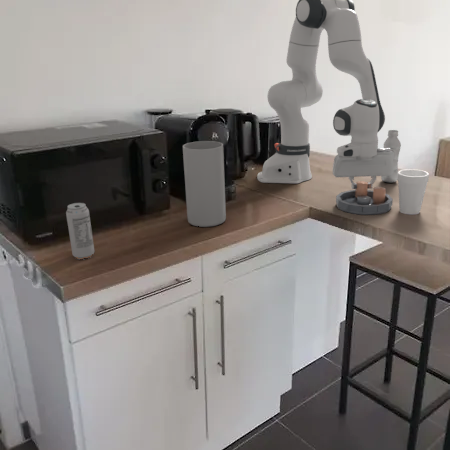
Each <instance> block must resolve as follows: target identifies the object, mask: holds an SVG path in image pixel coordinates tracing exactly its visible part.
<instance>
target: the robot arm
mask: <svg viewBox="0 0 450 450" xmlns="http://www.w3.org/2000/svg"><path fill="white" fill-rule="evenodd" d="M355 8H356V7H355V4H354V0H298V1H297V3H296V7H295V17H294V21H293V24H292V28H291V31H290V36H289V42H288V48H287V55H286V64H287V66H288V67H289V68H290V69H291V73H292V79H289V80H284V81H279V82H278V83H276V84H273V85H271V86H270V88H269V89H268V92H267V102H268V105H269V106H270V108H272V109H273V110H274V111H275V112H276V115H277V117H278V120H279V124H280V135H281V136H280V140H281V141H280V143H278V142H276V143H274V148H275V151H276V152H275V153H274V154H273V155H272V156H270V157H269V158H267V160H265V161H264V163H263V166H262V171H260V172H258V174H257V175H256V177H257V178H256V180H257V181H259V182H260V183H264V184H268V183H269V184H300V183H302V182H305V181H309V180H311V179H312V178H313V176H312V172H311V166H310V154H311V144H310V143H309V141H310V139H309V138H310V123H309V122H308V121H307V120H306V119H304V117H303V115H302V114H303V113H302V111H301V110H302V109H303V108H307V107H311V106H313V105H314V104H316V103H318V102H319V101H321V99H322V97H323V87H322V84H321V83H320V81H319V80H318V78H317V70H316V69H317V68H316V67H317V66H316V65H317V59H318V51H319V46H320V42H321V41H320V40H321V35H322V31H324V30H325V31H326V34H327V46H328V47H327V48H328V50H327V51H328V57H329V61H330V64H331V65H332V66H333V67H334V68H335V69H337V70H338V71H340V72H343V73H345V74H347V75H348V74H349V75H350V76H352V77H353V78H355V79H356V80H357V83H359V89H360V92H361V97H362V98H361V99H357V100H355V101H354V102H353V104H351V105H349V106H347V107H344V108H341V109H338V110H337V111H336V112H335V113H334V117H333V120H332V125H333V130H334V131H335V132H336V134H337V135H339V136H343V137H347V136H350V137H351V139H350V143H346V144H344V145H341V146H338V147H337V149H336V155H335V157H334V159H333V165H332V175H333V176H334V177H335V178H348V180H349V181H350V183H351V189H352V190H356V189H357V184H356V182H354V180H355V178H359V177H360V178H362V177H370V179H371V180H370V181H369V182H368V190H370V189H371V190H373V185H374V183H375V181H376V180H377V177H381V176H391V175H392V174H393V171H394V167H393V160H394V157H395V152H394V151H393V150H391V149H390V148H387V149H384V148H378V147H379V137H378V133H379V132H380V131H381V130H382V128H383V127H384V125H385V122H386V116H385V112H384V109H383V106H382V103H381V100H380V96H379V91H378V85H377V80H376V75H375V71H374V66H373V64H372V62H371V60H370V58H367V56H366V53H365V51H364V49H363V44H362V43H363V42H362V33H361V27H360V25H361V24H360V21H359V18H358V17H359V16H358V15H357V13H356V10H355ZM301 108H302V109H301Z"/></svg>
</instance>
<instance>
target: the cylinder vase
mask: <svg viewBox="0 0 450 450" xmlns="http://www.w3.org/2000/svg"><path fill="white" fill-rule="evenodd" d="M182 154H183V155H182V158H183V159H182V160H183V171H184V174H183V175H184V184H185V186H184V187H185V203H186V214H187V222H188V223H189V224H190V225H192V226H194V227H198V226H199V227H200V228H210V227H215V226H218V225H221V224H223V223H224V222H225V221H226V220H227V210H226V208H227V207H226V188H225V187H226V186H225V185H226V183H225V181H226V180H225V161H224V159H225V157H224V143H223V142H220V141H212V140H201V141H200V140H199V141H193V142H187V143H185V144H182Z"/></svg>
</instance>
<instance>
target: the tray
mask: <svg viewBox="0 0 450 450" xmlns="http://www.w3.org/2000/svg"><path fill="white" fill-rule="evenodd" d="M355 193H356V189H352V190H346V191H341V192H339V194H337V195H336V197H335V202H336V207H337V208H338V209H339V210H340V211H342V212H344V213H348V214H352V215H361V216H373V215H374V216H375V215H376V216H377V215H382V214H385V213H387V212H389V211H390V210H391V209H392V206H393V197H392V196H391V195H389V194H388V193H386V194H385V203H382V204H378V205H376V204H373V190H372V189H371V190H370V189H368V191H367V196H358V197H355Z"/></svg>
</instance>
